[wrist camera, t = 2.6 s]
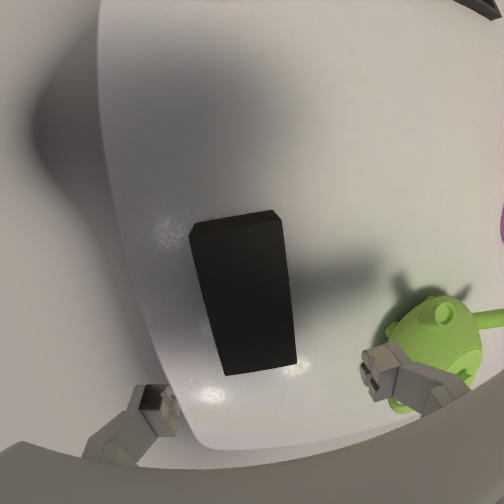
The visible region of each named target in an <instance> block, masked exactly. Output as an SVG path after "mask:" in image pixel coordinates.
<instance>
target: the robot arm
mask: <svg viewBox="0 0 504 504" xmlns="http://www.w3.org/2000/svg"><path fill="white" fill-rule="evenodd" d="M361 358H362V360H363V361H364V362H363V363H362V364H361V368H360V372H361V378H362V381H363V383H364V385H366V386H368V387H369V394H370V396H371V397H372V399H373V401H374V402H377V401H380V400H383V399H386V398H389V397H392V398H394V399H395V400H397V401H399V402H401V403H402V404H404V405H406V406H408V407H409V408H411V409H413V410H415V411H416V412H418V413H420V414H422V415H421V418H420V419H418V420H416V421H414V422H411V423H409V424H407V425H405V426H403V427H400V428H397V429H395V430H393V431H390V432H387V433H385V434H383V435H379V436H377V437H374V438H371V439H368V440H365V441H362V442H359V443H356V444H353V445H350V446H347V447H343V448H340V449H336V450H332V451H329V452H325V453H321V454H317V455H312V456H308V457H303V458H299V459H294V460H288V461H282V462H276V463H270V464H263V465H255V466H246V467H236V468H221V469H160V468H146V467H139V466H138V465H137V464H136V463H137V462H138V461H139V459H140V458H141V457H142V456H143V455H144V454H145V452H146V451H147V450H148V449H149V448H150V446H151V445H152V444H153V443H154V442H155V441H156V439H157V438H158V437H173V436H176V433H177V427H178V424H177V423H176V419H177V418H179V414H180V409H179V403H178V400H177V398H176V397H175V396H173V395H172V391H173V390H172V388H171V386H170V385H169V384H155V385H136V386H135V387H134V390H133V393H132V396H131V398H130V401H129V404H128V407H127V410H126V411H122V412H121V413H120V414H119V415H117V416H116V417H115V418H114V419H112V420H111V421H110V422H109V423H108V424H106V425H105V426H104V427H102V428H101V429H100V430H99V431H97V432H96V433H95V434H93V435H92V436H91V437H90V438H89V439H88V442H87V444H86V447H85V449H84V452H83V455H82V457H81V458H80V457H76V456H72V455H68V454H64V453H60V452H56V451H53V450H49V449H46V448H43V447H40V446H37V445H34V444H31V443H28V442H25V441H20V442H18V443H16V444H14V445H12V446H10V447H8V448H7V449H5V450H3V451H2V452H0V504H504V369H503V370H502V371H500V372H499V373H498V374H496V375H495V376H493V377H492V378H491V379H489V380H488V381H486V382H485V383H483V384H482V385H480V386H478V387H477V388H475V389H474V390H472V391H471V390H470V388H469V387H468V386H467V385H466V384H465V383H464V381H463V380H462V379H461V378H460V377H459V376H458V375H456V374H453V373H450V372H447V371H444V370H441V369H438V368H435V367H432V366H429V365H426V364H424V363H421V362H418V361H413V362H412V360H411V359H410V358H409V357H408V356H407V354H406V353H405V352H404V351H403V349H402V348H401V347H400V346H399V345H398V343H397V342H396V341H391V342H388V343H385V344H383V345H380V346H376V347H373V348H370V349H367V350H363V352H362V357H361Z"/></svg>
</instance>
